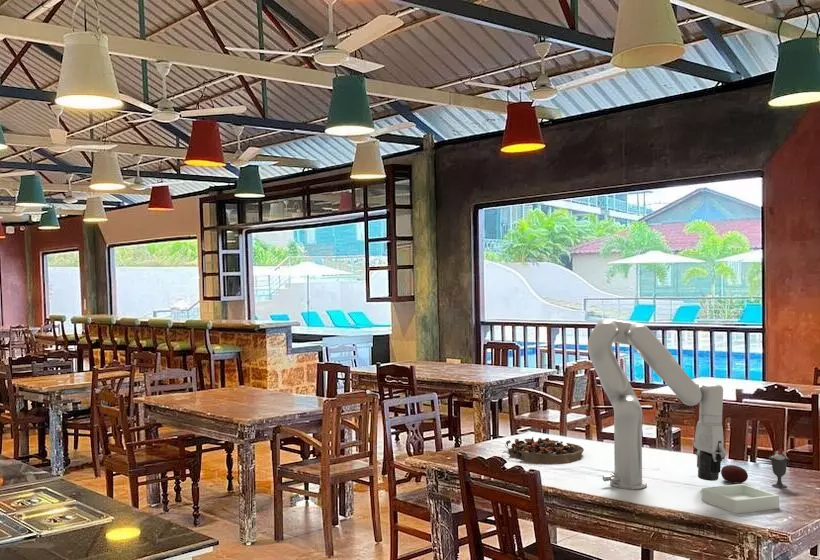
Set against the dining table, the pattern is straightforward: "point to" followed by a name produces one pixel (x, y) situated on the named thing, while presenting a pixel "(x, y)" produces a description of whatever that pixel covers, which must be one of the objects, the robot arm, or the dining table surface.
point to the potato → (734, 474)
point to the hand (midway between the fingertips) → (708, 469)
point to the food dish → (544, 451)
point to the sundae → (779, 466)
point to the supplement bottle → (706, 467)
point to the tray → (740, 498)
